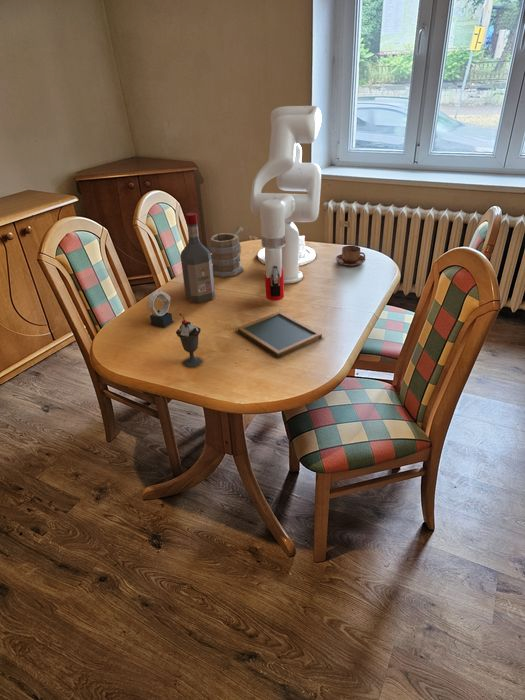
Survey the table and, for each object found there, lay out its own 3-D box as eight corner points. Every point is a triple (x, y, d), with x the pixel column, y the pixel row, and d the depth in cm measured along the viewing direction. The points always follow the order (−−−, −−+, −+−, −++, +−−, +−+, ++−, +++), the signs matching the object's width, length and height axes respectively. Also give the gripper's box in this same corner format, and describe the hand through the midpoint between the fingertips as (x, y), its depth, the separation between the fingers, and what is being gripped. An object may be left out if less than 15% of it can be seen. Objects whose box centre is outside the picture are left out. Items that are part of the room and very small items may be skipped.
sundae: (181, 356, 132) (174, 310, 124) (204, 355, 132) (199, 308, 124) (179, 369, 126) (172, 321, 118) (204, 367, 127) (198, 320, 119)
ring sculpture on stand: (176, 319, 152) (172, 288, 146) (160, 330, 146) (155, 298, 140) (163, 316, 154) (158, 285, 148) (147, 326, 148) (141, 295, 143)
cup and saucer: (365, 258, 193) (366, 244, 190) (364, 269, 183) (365, 254, 180) (337, 257, 196) (337, 243, 192) (334, 267, 186) (335, 252, 183)
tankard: (229, 279, 179) (227, 241, 171) (204, 273, 185) (200, 237, 177) (257, 262, 193) (255, 227, 185) (233, 257, 199) (230, 223, 191)
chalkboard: (237, 332, 143) (237, 327, 142) (279, 315, 152) (279, 311, 151) (278, 358, 130) (278, 353, 129) (321, 338, 138) (321, 333, 137)
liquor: (217, 298, 165) (209, 214, 149) (194, 305, 161) (183, 219, 145) (206, 289, 171) (197, 208, 155) (183, 295, 167) (172, 213, 151)
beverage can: (266, 294, 160) (265, 262, 153) (284, 295, 159) (284, 262, 153) (265, 303, 155) (263, 270, 148) (283, 303, 154) (282, 270, 148)
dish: (275, 271, 184) (275, 244, 178) (248, 253, 203) (247, 228, 197) (326, 259, 194) (327, 233, 188) (296, 243, 213) (296, 218, 207)
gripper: (260, 232, 153) (262, 281, 163) (262, 251, 138) (265, 304, 148) (282, 230, 153) (283, 280, 163) (287, 249, 138) (288, 302, 148)
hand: (274, 291), depth 155 cm, fingers closed on beverage can, 5 cm apart
